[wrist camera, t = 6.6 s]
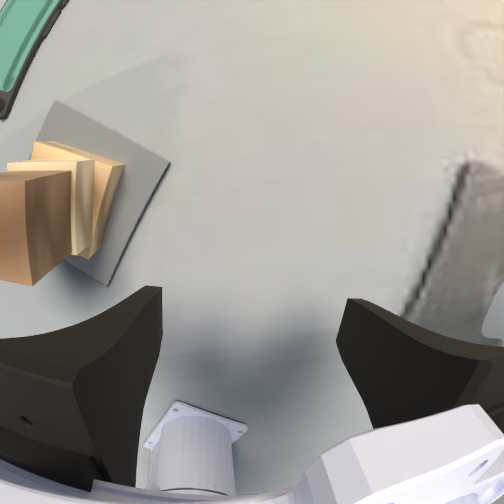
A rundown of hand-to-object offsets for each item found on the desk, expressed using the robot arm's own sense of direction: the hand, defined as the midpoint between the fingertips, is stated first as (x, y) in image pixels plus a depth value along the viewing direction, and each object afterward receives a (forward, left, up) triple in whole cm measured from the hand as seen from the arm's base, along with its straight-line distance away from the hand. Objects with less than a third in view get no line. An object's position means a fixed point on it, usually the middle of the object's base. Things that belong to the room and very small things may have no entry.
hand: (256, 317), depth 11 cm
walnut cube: (-3, +12, -5) cm, 13 cm away
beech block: (-3, +12, -7) cm, 14 cm away
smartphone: (+6, +25, -11) cm, 28 cm away
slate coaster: (-3, +12, -10) cm, 16 cm away
